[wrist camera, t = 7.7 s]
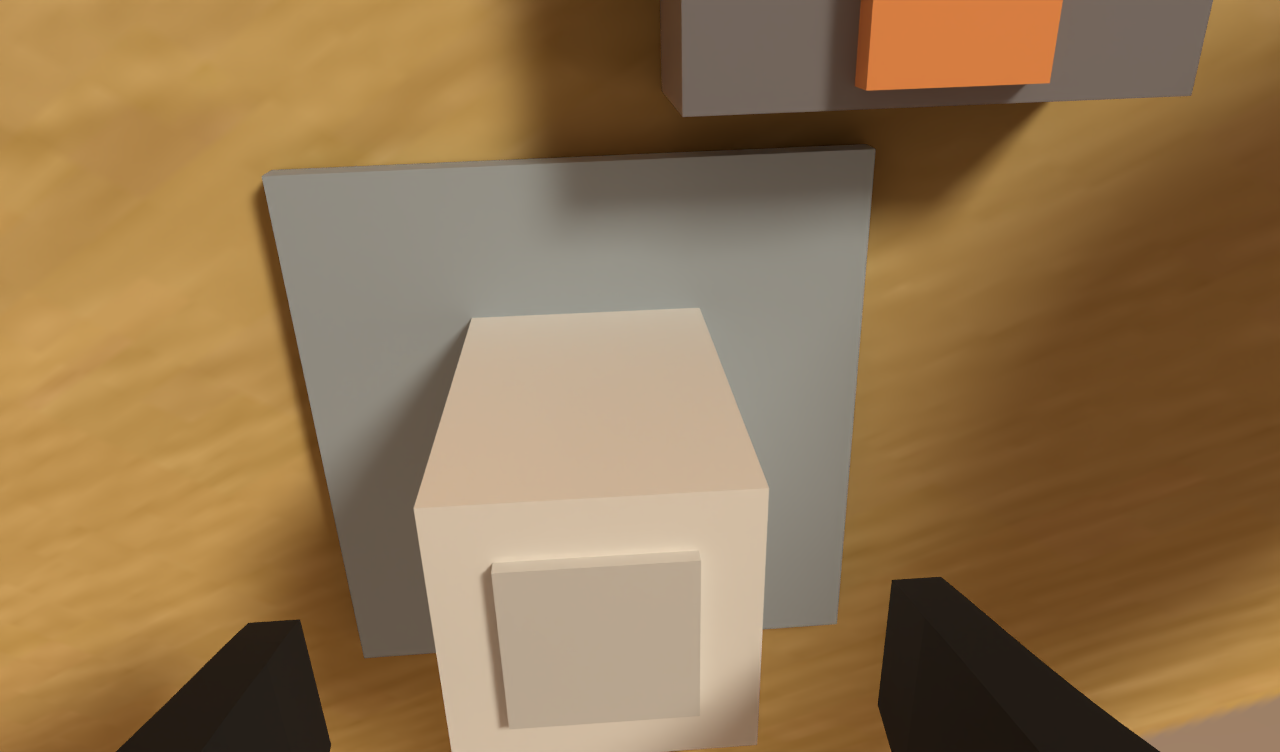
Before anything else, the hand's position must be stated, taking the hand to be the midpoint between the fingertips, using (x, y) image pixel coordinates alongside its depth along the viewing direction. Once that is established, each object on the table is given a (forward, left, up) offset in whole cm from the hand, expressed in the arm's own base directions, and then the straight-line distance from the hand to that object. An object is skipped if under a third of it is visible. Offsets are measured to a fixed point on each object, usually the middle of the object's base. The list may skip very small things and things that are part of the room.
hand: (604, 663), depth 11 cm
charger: (0, 0, -6) cm, 6 cm away
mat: (0, 0, -7) cm, 7 cm away
